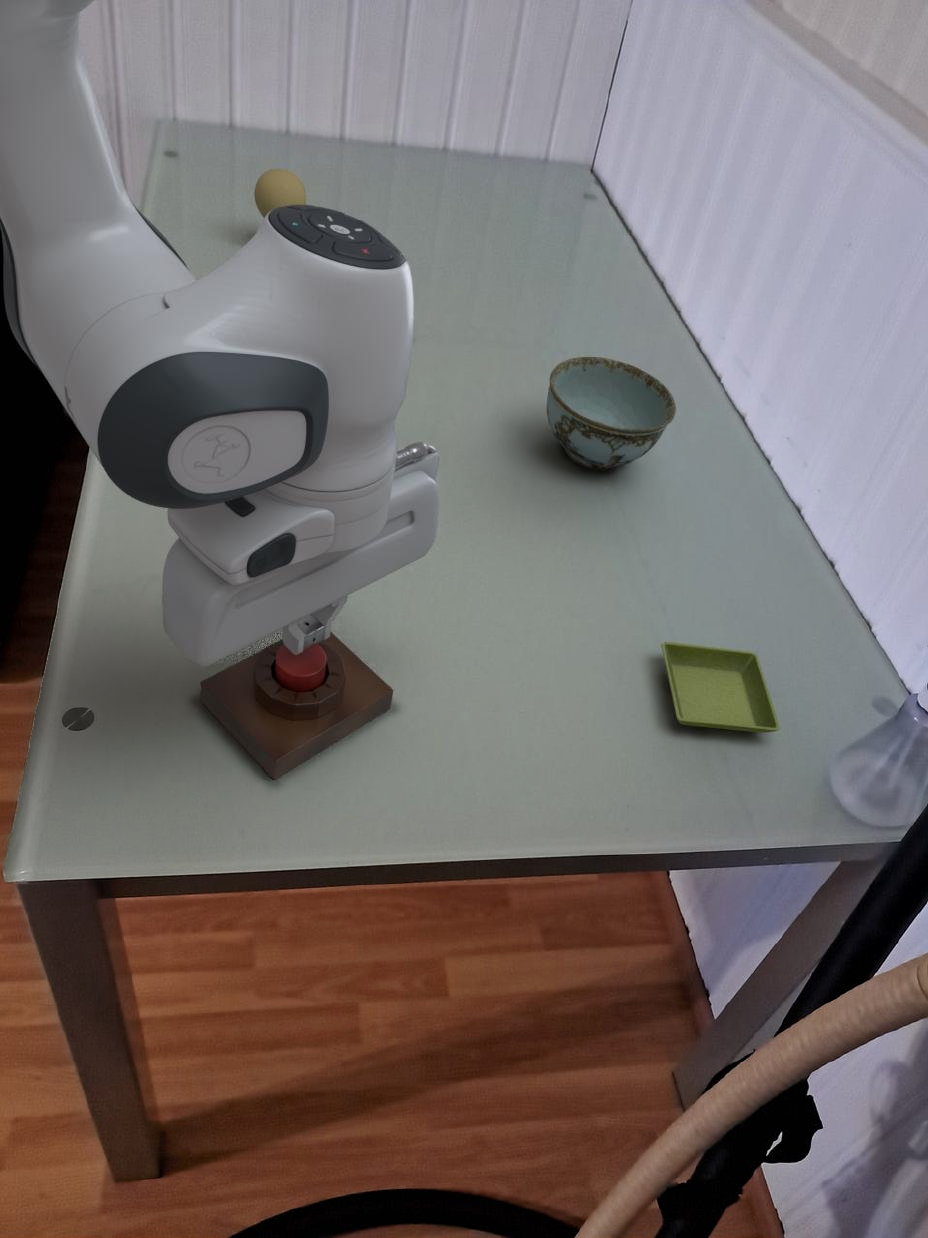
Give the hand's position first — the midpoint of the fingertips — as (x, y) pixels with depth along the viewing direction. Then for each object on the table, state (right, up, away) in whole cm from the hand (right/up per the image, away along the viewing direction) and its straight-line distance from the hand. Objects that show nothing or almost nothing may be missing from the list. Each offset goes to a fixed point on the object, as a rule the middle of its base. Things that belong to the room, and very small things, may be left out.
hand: (305, 641), depth 68 cm
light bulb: (-13, +50, +57) cm, 77 cm away
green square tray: (+32, -5, +13) cm, 35 cm away
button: (-1, -2, +3) cm, 4 cm away
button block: (-1, -5, +5) cm, 7 cm away
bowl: (+25, +19, +37) cm, 48 cm away
